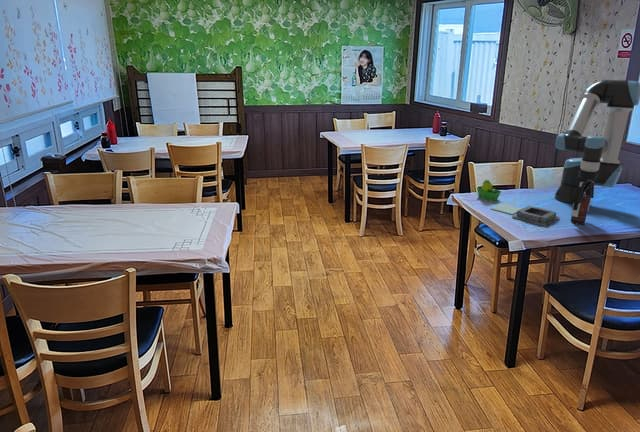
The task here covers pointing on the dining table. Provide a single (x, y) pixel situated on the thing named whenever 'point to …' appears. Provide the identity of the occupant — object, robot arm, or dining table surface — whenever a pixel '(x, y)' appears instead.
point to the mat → (506, 209)
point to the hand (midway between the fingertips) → (579, 213)
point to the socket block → (536, 215)
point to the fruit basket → (488, 191)
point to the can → (582, 210)
